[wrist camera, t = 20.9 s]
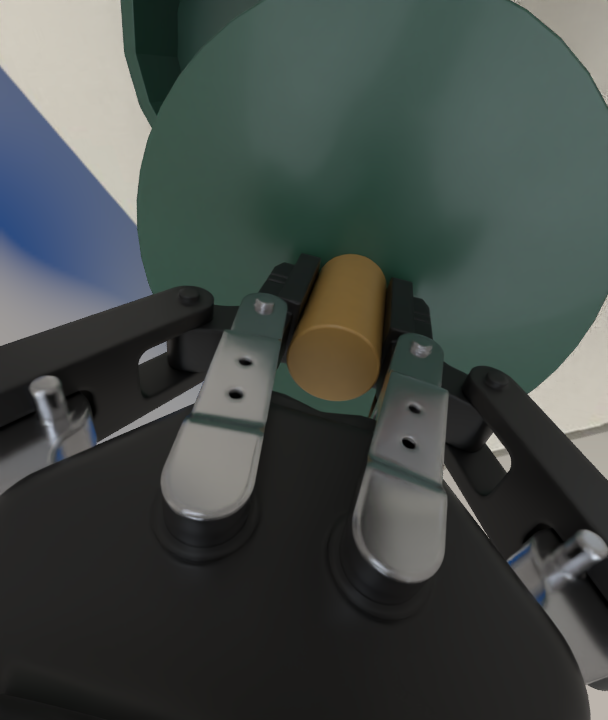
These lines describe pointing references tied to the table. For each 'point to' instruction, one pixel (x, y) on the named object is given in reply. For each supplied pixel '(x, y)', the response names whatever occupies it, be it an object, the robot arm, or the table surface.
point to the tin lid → (387, 183)
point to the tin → (169, 41)
